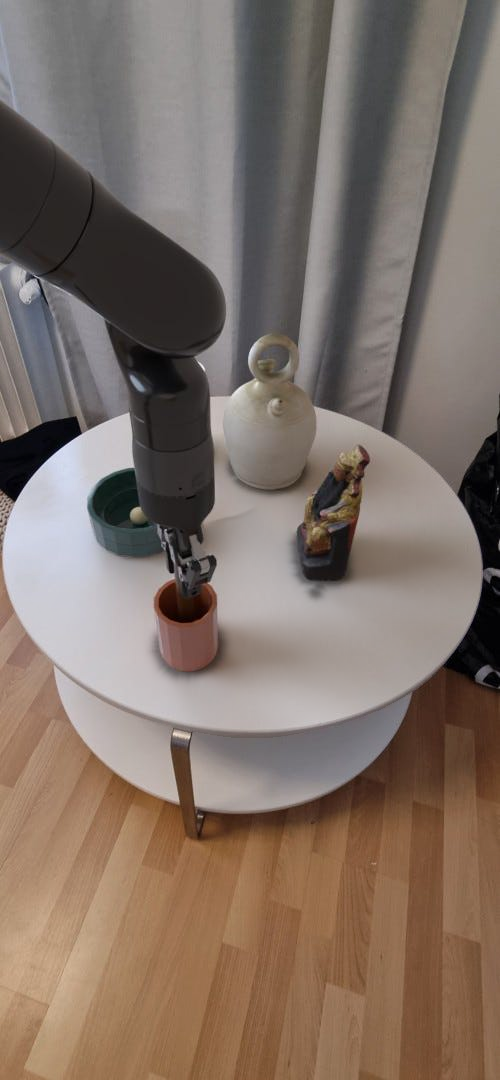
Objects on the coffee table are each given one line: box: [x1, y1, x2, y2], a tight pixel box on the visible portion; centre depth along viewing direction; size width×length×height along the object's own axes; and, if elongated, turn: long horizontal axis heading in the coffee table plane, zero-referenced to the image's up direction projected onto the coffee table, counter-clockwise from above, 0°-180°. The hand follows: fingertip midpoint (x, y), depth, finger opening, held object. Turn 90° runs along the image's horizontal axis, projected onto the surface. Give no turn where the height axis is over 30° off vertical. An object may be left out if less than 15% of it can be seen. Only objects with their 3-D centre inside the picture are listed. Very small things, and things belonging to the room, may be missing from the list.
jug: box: [222, 332, 317, 491], centre depth 95 cm, size 15×16×25 cm
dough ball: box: [130, 507, 148, 525], centre depth 91 cm, size 3×3×3 cm
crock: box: [153, 578, 219, 672], centre depth 74 cm, size 8×8×10 cm
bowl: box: [86, 467, 165, 558], centre depth 91 cm, size 15×15×6 cm
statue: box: [296, 444, 371, 593], centre depth 82 cm, size 12×8×20 cm, turn 178°
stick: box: [173, 552, 197, 623], centre depth 71 cm, size 3×2×18 cm
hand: (184, 581), depth 68 cm, fingers open, 3 cm apart
